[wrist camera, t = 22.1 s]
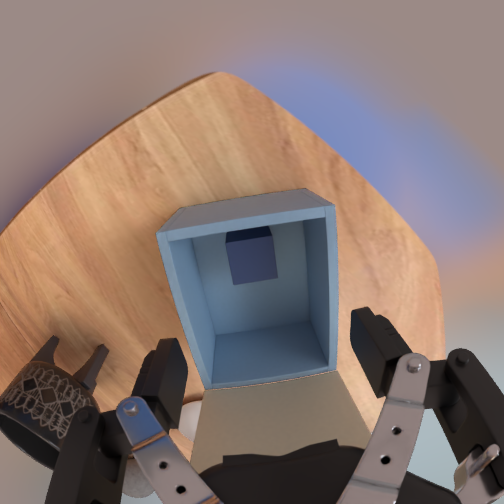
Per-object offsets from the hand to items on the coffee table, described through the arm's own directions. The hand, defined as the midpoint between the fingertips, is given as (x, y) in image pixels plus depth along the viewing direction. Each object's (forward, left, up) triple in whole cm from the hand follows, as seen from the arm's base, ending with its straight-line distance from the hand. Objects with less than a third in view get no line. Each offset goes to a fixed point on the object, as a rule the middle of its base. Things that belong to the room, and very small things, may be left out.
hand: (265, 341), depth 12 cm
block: (+1, +1, -16) cm, 16 cm away
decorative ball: (+57, +6, -17) cm, 60 cm away
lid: (+8, +6, 0) cm, 10 cm away
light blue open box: (+3, +3, -17) cm, 18 cm away
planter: (+28, -11, -17) cm, 35 cm away
